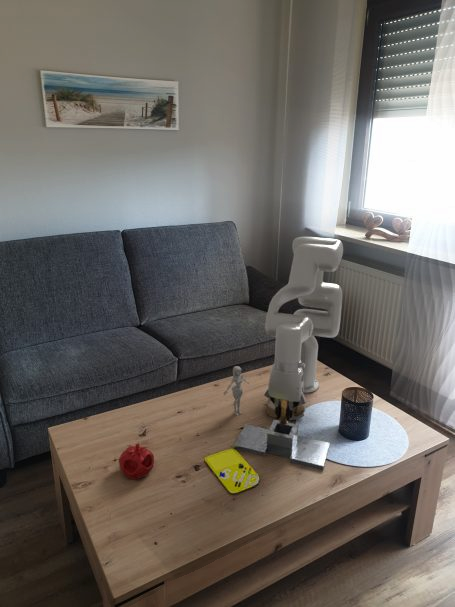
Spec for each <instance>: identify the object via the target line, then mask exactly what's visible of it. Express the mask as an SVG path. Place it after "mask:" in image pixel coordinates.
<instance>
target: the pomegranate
mask: <svg viewBox="0 0 455 607" xmlns="http://www.w3.org/2000/svg"><path fill="white" fill-rule="evenodd" d="M148 448H149V446H140V441H138V442H137V443H135V446H132V445H128V446H127V447H126V449H125V450H124V451H122V453H121V454H120V456H119V457H118V465H119V470H120V471H121V472H122V474H123V475H125V477H127V478H129V479H133V480H134V479H141V478H144V477H146V476H147V475H149V473H151V471H152V470H153V468H154V462H155V458H154V457H155V456H154V454H153V452H152V451H151V450H149V449H148Z"/></svg>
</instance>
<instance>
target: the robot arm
mask: <svg viewBox="0 0 455 607" xmlns="http://www.w3.org/2000/svg"><path fill="white" fill-rule="evenodd" d="M292 253H293V258H292V261H291V262H292V263H291V268H290V273H289V278H288V283H287V284H286V285H284V286H283V287H281V288H280V289H279V290H278V291H277V292H276V294H274V296H272V298H271V299H270V302H269V305H268V310H267V313H266V318H265V324H264V326H265V327H264V328H265V332H266V334H267V335H268V336H270V337H273V338H275V345H274V348H275V349H274V362H273V364H272V366H271V370H270V374H269V380H268V387H267V389H266V391H265V393H264V397H265V398H267V400H268V399H270V400H271V401H272V402H273V404H274V406H275V414H276V415H277V417H276V418H275V420H279V417H280V399H283V400H288V401H289V408H288V409H287V421H289V420H290V418H292V417H293V409H294V408H295V407H297V406H298V405H305V404H306V403H307V399H306V397H305V394H306V393H308V394H309V393H312V392H315V391H317V390H318V389H319V387H320V383H319V381H318V380H317V379H316V377H317V376H316V375H317V366H318V365H317V364H318V352H319V344H318V340H317V339H316V337H322V338H335V337H337V336H338V334H339V331H340V325H341V318H342V306H343V290H342V288H341V286H340V285H338V284H337V283H333V282H332V283H331V282H324V272H328V273H329V272H332V273H333V272H335V271H336V270H337V269H338V268H339V266H340V263H341V261H342V258H343V255H344V244H343V242H342V241H341V240H339V239H337V238H325V237H315V236H298V237H296V238H294V239H293V240H292ZM295 299H298V300H297V301H298V303H299V304H300V305H301V306H303V307H307V308H302V309H301V308H299V309H297V310H296V311H295V312H294V313H293V314H292V313H283V312H279V309H280V308H281V307H282V306H283V305H284V304H285V303H287V302H291V301H293V300H295ZM308 307H309V309H308ZM310 308H315V309H310ZM318 309H324V310H318ZM326 310H327V311H326ZM315 336H316V337H315ZM304 393H305V394H304ZM289 422H290V421H289Z"/></svg>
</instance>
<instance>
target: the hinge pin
mask: <svg viewBox="0 0 455 607" xmlns="http://www.w3.org/2000/svg"><path fill="white" fill-rule="evenodd" d="M288 408H289V401H288V400H283V399H281V401H280V417H279V419H278V421H279V423H280V424H287V423H289V422H288V421H287V409H288Z"/></svg>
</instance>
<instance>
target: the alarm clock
mask: <svg viewBox="0 0 455 607" xmlns="http://www.w3.org/2000/svg"><path fill="white" fill-rule="evenodd" d="M280 401H281V399H280ZM263 406H265V407H266V413H267V414H268V416H270V417H272V418H274V419H276V417H277V415H276V414H275V406H274V404H273V402H272V401H271V400H270V399H268V398H267V400H266V403H263ZM305 412H306V409H305V407H304V404H302V405H298V406H297V407H295V408H294V409H293V417H292V418H290V420H289V421H288V423H290V422H291V421H292V420H300V419H302V418H303V417H305Z"/></svg>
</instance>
